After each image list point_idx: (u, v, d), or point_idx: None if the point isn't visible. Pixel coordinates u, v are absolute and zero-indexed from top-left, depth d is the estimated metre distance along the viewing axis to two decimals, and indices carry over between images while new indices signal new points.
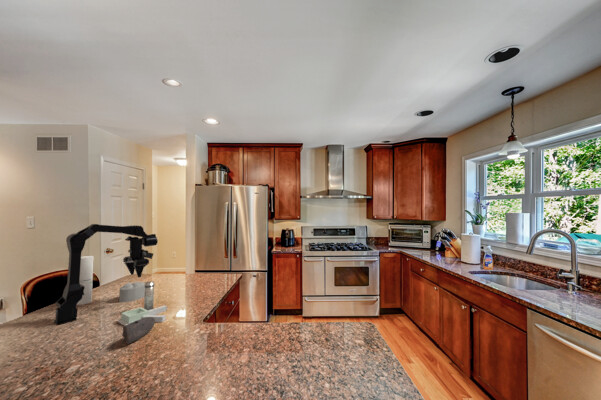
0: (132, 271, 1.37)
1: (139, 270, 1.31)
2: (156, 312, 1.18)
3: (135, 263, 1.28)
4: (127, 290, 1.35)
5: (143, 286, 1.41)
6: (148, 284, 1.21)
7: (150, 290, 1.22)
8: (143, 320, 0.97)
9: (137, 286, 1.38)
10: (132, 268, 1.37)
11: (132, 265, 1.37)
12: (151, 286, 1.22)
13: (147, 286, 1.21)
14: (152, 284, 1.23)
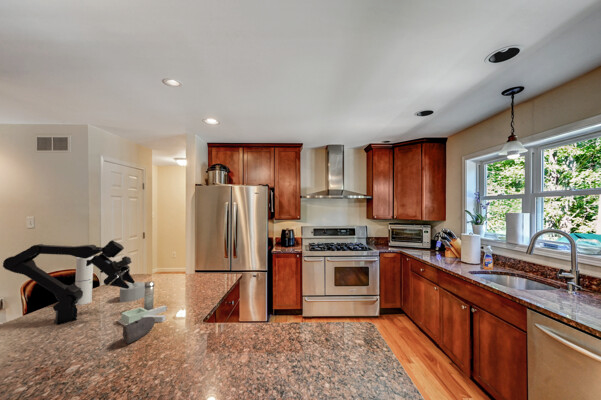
0: (130, 280, 1.24)
1: (120, 284, 1.14)
2: (156, 312, 1.18)
3: None
4: (127, 290, 1.35)
5: (143, 286, 1.41)
6: (148, 284, 1.21)
7: (150, 290, 1.22)
8: (143, 320, 0.97)
9: (137, 286, 1.38)
10: (128, 278, 1.24)
11: (126, 276, 1.24)
12: (151, 286, 1.22)
13: (147, 286, 1.21)
14: (152, 284, 1.23)
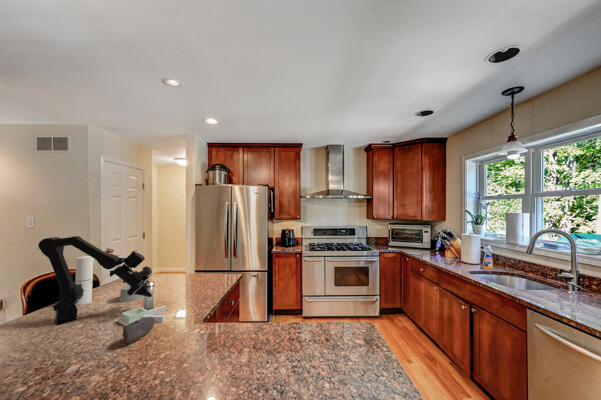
0: None
1: (143, 292, 1.19)
2: (156, 312, 1.18)
3: None
4: None
5: None
6: (148, 284, 1.21)
7: (150, 290, 1.22)
8: (143, 320, 0.97)
9: None
10: None
11: None
12: (151, 286, 1.22)
13: (147, 286, 1.21)
14: (152, 284, 1.23)
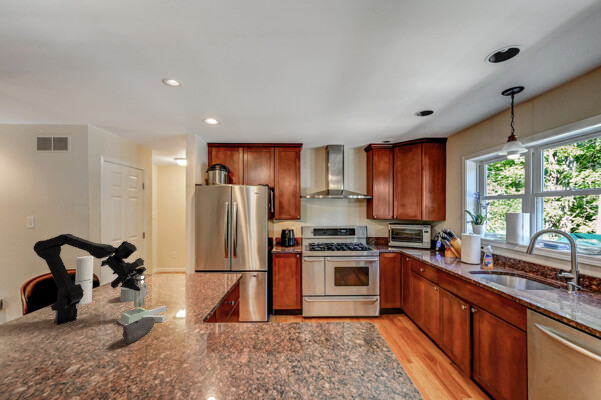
0: None
1: (131, 286, 1.11)
2: (156, 312, 1.18)
3: None
4: (128, 290, 1.35)
5: None
6: (137, 277, 1.13)
7: (139, 284, 1.13)
8: (143, 320, 0.97)
9: None
10: None
11: None
12: (140, 279, 1.13)
13: (136, 279, 1.12)
14: (141, 277, 1.13)
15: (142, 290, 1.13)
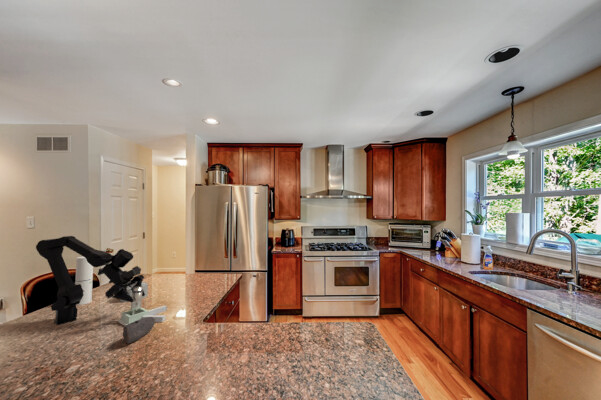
0: None
1: (124, 297, 1.07)
2: (156, 312, 1.18)
3: None
4: (129, 290, 1.35)
5: (144, 286, 1.42)
6: (134, 289, 1.10)
7: (136, 296, 1.10)
8: (143, 320, 0.97)
9: None
10: None
11: None
12: (138, 291, 1.11)
13: (133, 291, 1.10)
14: (139, 290, 1.11)
15: (139, 303, 1.11)
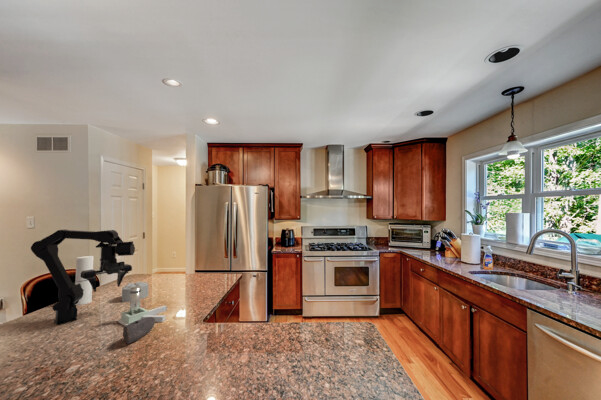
0: (118, 282, 1.20)
1: (91, 283, 1.11)
2: (156, 312, 1.18)
3: None
4: None
5: (145, 286, 1.42)
6: (132, 290, 1.10)
7: (134, 296, 1.10)
8: (143, 320, 0.97)
9: (140, 286, 1.39)
10: (118, 279, 1.20)
11: (119, 275, 1.20)
12: (136, 292, 1.10)
13: (131, 292, 1.10)
14: (137, 290, 1.11)
15: (138, 303, 1.11)
